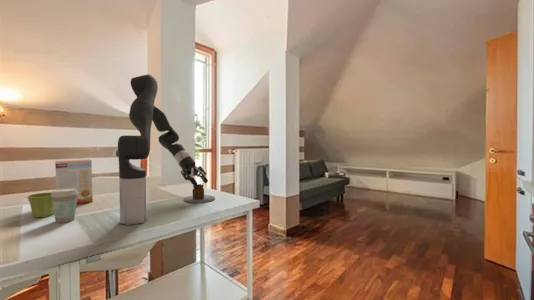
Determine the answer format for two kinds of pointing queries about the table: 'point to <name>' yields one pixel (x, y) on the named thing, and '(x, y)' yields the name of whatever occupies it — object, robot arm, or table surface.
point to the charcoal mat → (206, 199)
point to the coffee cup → (64, 204)
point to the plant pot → (41, 204)
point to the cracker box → (75, 177)
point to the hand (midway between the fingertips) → (201, 183)
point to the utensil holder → (198, 191)
